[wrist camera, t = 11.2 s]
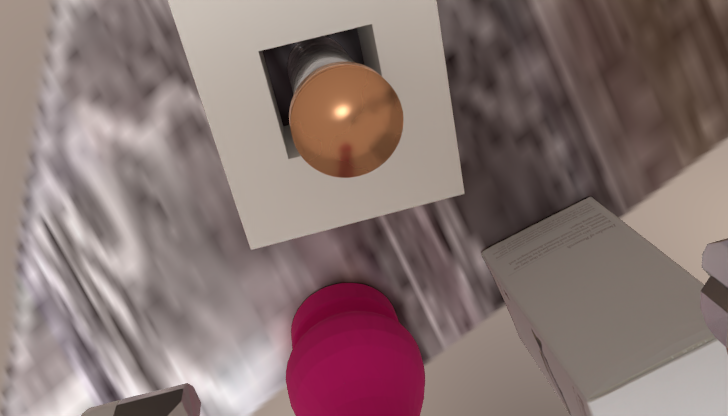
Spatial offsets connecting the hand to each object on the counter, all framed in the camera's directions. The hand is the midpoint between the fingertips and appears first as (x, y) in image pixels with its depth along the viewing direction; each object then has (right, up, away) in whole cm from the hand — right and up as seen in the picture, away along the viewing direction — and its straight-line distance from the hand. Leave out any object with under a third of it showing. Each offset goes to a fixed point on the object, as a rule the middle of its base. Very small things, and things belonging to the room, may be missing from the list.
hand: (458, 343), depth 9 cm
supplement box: (+10, -2, +27) cm, 29 cm away
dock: (-4, +9, +20) cm, 22 cm away
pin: (-4, +9, +20) cm, 22 cm away
